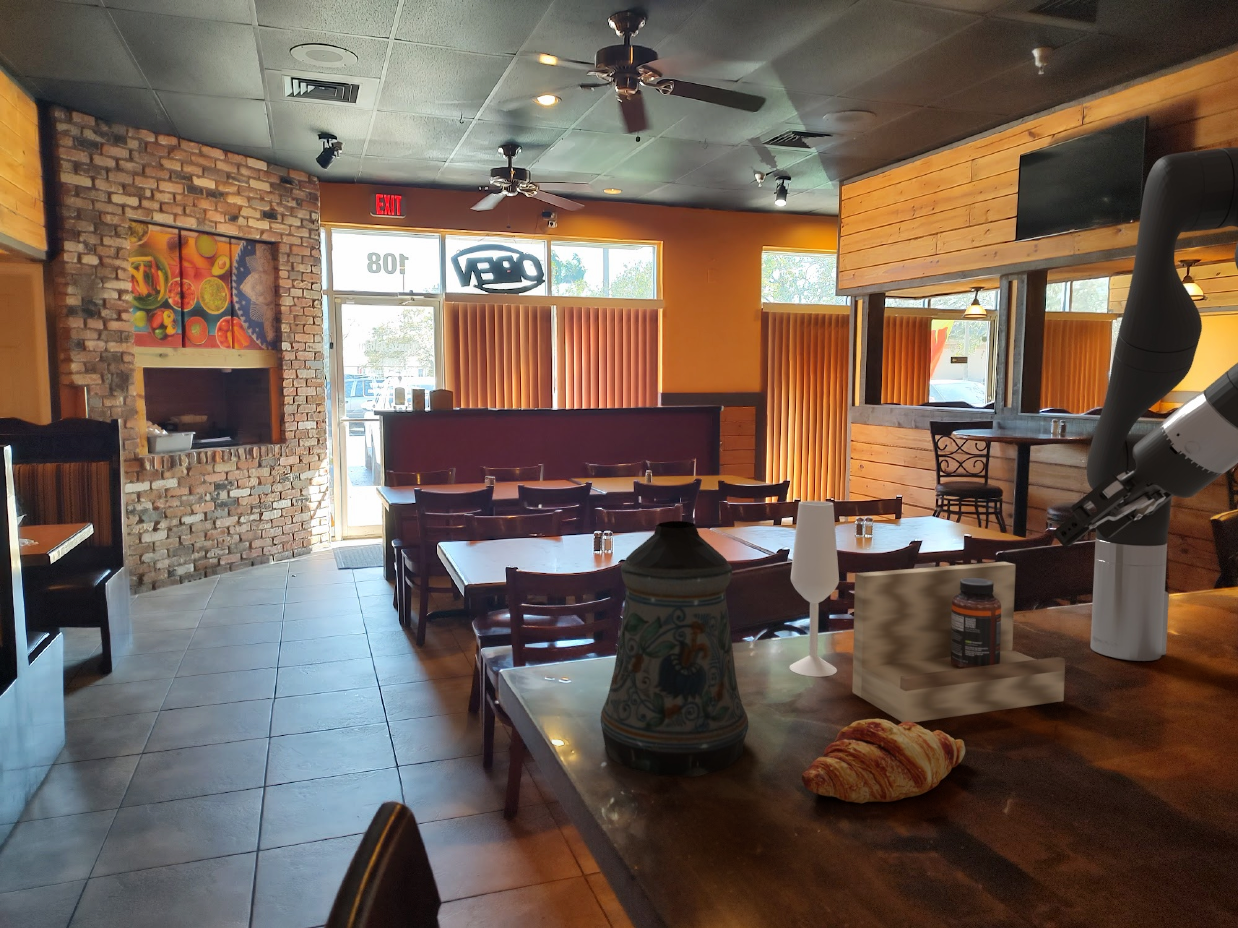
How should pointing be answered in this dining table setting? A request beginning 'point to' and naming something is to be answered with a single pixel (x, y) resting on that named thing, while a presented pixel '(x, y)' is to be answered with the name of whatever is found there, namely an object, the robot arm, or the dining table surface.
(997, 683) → the board
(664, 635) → the beer stein
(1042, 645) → the dining table surface
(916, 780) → the croissant
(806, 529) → the champagne flute
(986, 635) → the supplement bottle
